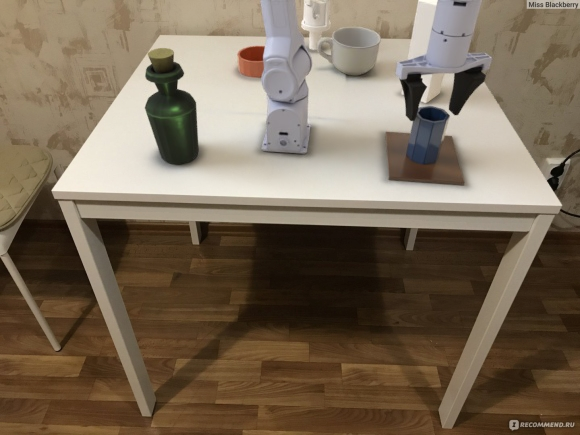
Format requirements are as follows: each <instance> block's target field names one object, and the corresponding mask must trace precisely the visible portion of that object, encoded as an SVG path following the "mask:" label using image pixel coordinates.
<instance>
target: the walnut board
mask: <svg viewBox="0 0 580 435" xmlns="http://www.w3.org/2000/svg"><path fill="white" fill-rule="evenodd" d="M410 133H411V132H399V131H398V132H395V131H385V133H384V134H385V146H386V162H387V176H388V180H389V181H399V182H400V181H401V182H412V183H413V182H415V183H427V184H442V185H454V186H455V185H457V186H464V185H465V179H464V176H463V175H464V174H463V172H462V168H461V165H460V161H459V157H458V153H457V149H456V145H455V142H454V139H453V136H452V135H445V136H444V140H443V144H442V147H441V151H440V155H439V158H438V159H437V161H436V162H435V163H431V164H425V165H424V164H420V163H417V162H414V161H412V160H410V158H409V157H408V156H407V155H406V152H407V147H408V142H409V138H410Z"/></svg>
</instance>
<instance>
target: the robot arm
mask: <svg viewBox="0 0 580 435" xmlns="http://www.w3.org/2000/svg"><path fill="white" fill-rule="evenodd" d="M259 2H260V5H261V6H260V8H261V13H262V19H263V25H264V32H265V37H266V40H265V45H264V46H265V49H264V54H263V62H264V71H263V74H262V77H260V78H261V79H260V81H261V86H262V89H263V90H264V92H265V93H266V112H267V113H266V115H267V116H266V118H265V119H266V121H265V124H266V125H265V127H266V131H265V135H264V138H263V141H262V145H261V151H263V152H273V153H274V152H276V153H289V154H303V155H304V154H307V152H308V147H309V140H310V134H311V128H312V127H311V126H312V125H311V124H310V123H308V122H309V121H308V118H309V90H310V89H309V86H308V83H307V80H306V78H307V76H309V74H310V72H311V71H312V68H313V58H312V55H311V54H310V52H309V50H308V49H307V46H306V42H305V36H304V35H303V34H302V32H301V31H300V29H299V22H298V14H297V6H296V0H259ZM482 2H483V0H438V1H437V6H436V11H435V15H434V20H433V25H432V29H431V34H430V39H429V44H428V49H427V53H426V54H425V55H422V56H419V57H416V58H412V59H409V60H408V59H406V60H400V61H397V62H396V67H395V73H394V74H395V76H396V77H397V78H398V79H399V82H400V85H401V89H402V88H403V92H404V95H403V97H404V108H405V117H407V119H408V120H409V121H410V122H413V121H415V119H416V117H417V113H418V108H419V107H420V104H421V98H422V96H423V94H424V91H425V90H426V88H427V86H426V85H425V84H424V83H423V82H422V80H423V78H421V75H428V74H437V73H445V74H451V75H452V74H453V84H452V91H451V95H450V99H449V102H448V110H449V112H451V114H453V115H454V116H459V115H460V114H461V111H462V109H464V106H465V104H467V102H468V100H469V98H470V97H471V96H472V95H473V93H475V91H476V90H477V89H478V88H479V87H480V86H481V85H482V84H483V83H485V80H486V77H487V75H486V74H485V73H484V72H483V71H489V70H490V67H491V63H492V60H493V57H492V56H490V55H489V53H486V52H469V51H470V47H471V44H472V43H471V42H472V39H473V35H474V32H475V28H476V25H477V21H478V17H479V13H480V10H481V6H482Z"/></svg>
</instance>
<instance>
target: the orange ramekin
mask: <svg viewBox="0 0 580 435" xmlns="http://www.w3.org/2000/svg"><path fill="white" fill-rule="evenodd" d="M264 49H265V45H251V46H250V45H249V46H246V47H242V48H241V49H239V50H238V52H237V54H236V57H237V58H236V59H237V69H238V72H239V73H240V74H241V75H243V76H246V77H248V78H262V74H263V71H264V62H263V54H264Z"/></svg>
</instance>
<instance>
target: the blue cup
mask: <svg viewBox="0 0 580 435" xmlns="http://www.w3.org/2000/svg"><path fill="white" fill-rule="evenodd" d="M450 117H451V115H450V114H449V113H448V111H447V110H445V109H444V108H441V107H438V106H433V105H426V106H419V108H418V113H417V117H416V119H415V121H412V124H411V129H410V132H409V133H410V138H409V142H408V147H407V152H406V155H407V156H408V157H409V158H410V160H412V161H414V162H417V163H420V164H424V165H425V164H431V163H435V162H436V161H437V159H438V158H439V155H440V151H441V147H442V144H443V140H444V136H446V131H447V129H448V124H449V121H450V119H451V118H450Z"/></svg>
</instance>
